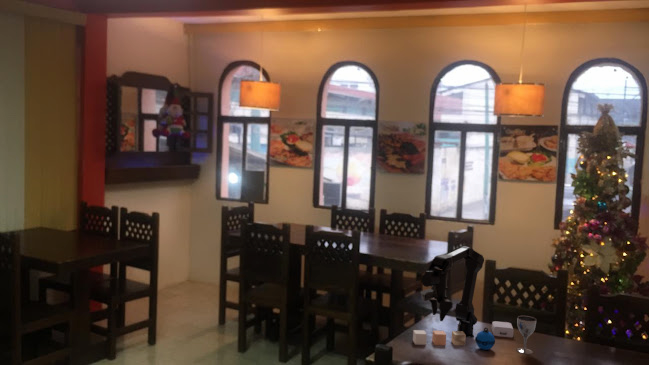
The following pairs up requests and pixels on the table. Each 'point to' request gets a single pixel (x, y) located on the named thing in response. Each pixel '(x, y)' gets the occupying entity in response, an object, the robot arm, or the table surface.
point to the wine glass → (525, 331)
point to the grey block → (419, 337)
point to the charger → (502, 329)
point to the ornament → (485, 339)
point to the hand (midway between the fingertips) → (437, 317)
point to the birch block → (458, 338)
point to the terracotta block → (439, 338)
